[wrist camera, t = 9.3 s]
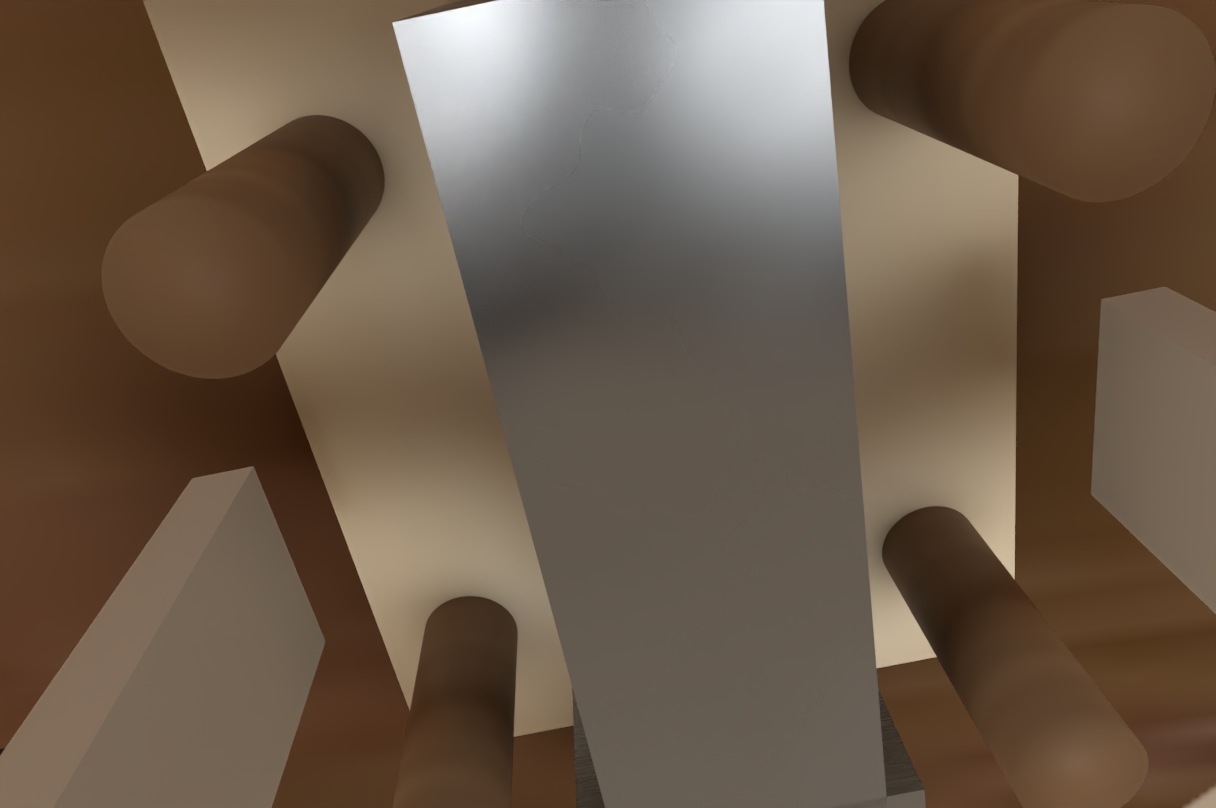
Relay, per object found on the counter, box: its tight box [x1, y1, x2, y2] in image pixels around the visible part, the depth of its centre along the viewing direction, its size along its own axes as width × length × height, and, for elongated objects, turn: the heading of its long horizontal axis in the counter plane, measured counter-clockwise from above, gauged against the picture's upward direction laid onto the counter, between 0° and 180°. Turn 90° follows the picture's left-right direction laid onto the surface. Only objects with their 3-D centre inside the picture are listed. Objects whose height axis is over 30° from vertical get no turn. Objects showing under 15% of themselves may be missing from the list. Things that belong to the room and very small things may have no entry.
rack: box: [101, 0, 1216, 808], centre depth 12 cm, size 13×11×6 cm
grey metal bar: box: [392, 0, 926, 808], centre depth 13 cm, size 14×5×4 cm, turn 11°
